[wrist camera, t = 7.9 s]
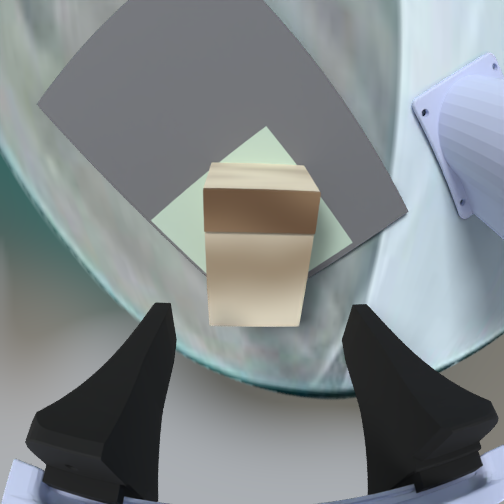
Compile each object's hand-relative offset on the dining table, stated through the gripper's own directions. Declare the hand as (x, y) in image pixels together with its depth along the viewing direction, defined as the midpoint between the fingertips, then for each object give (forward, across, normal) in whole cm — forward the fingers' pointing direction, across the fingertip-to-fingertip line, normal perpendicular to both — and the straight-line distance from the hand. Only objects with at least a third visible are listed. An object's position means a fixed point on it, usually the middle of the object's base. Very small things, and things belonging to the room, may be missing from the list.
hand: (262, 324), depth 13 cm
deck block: (+8, 0, 0) cm, 8 cm away
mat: (+8, +2, -5) cm, 10 cm away
